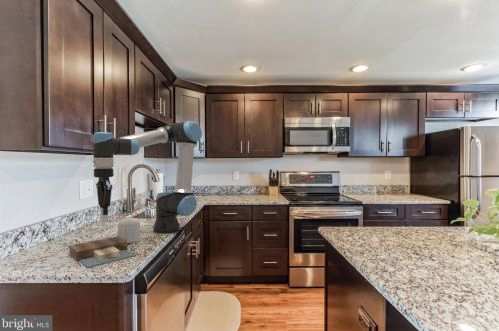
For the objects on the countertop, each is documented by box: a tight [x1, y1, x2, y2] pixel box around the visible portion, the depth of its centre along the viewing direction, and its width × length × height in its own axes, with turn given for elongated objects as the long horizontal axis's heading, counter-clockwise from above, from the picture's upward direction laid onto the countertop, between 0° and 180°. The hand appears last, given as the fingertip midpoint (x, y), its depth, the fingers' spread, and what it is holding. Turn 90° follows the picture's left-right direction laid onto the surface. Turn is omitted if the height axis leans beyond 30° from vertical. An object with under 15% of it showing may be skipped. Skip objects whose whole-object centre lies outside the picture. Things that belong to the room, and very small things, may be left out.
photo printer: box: [117, 217, 141, 244], centre depth 133 cm, size 10×4×12 cm, turn 123°
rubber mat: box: [79, 249, 136, 269], centre depth 111 cm, size 18×10×1 cm, turn 137°
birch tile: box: [94, 247, 120, 262], centre depth 111 cm, size 8×8×2 cm
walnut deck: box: [68, 235, 128, 262], centre depth 118 cm, size 20×12×4 cm, turn 137°
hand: (104, 221), depth 114 cm, fingers closed
